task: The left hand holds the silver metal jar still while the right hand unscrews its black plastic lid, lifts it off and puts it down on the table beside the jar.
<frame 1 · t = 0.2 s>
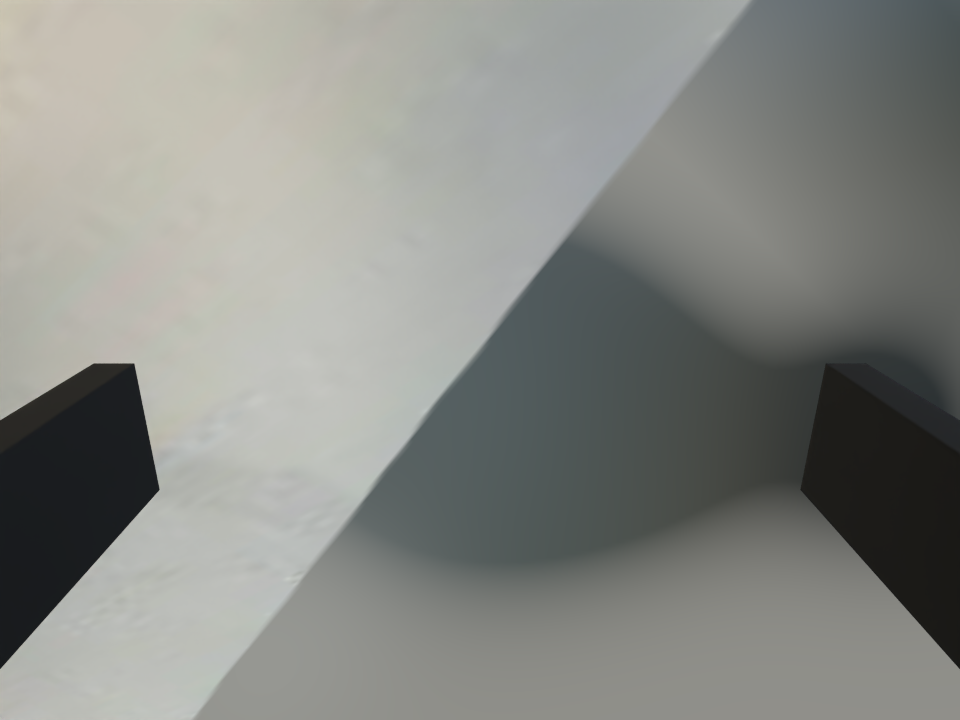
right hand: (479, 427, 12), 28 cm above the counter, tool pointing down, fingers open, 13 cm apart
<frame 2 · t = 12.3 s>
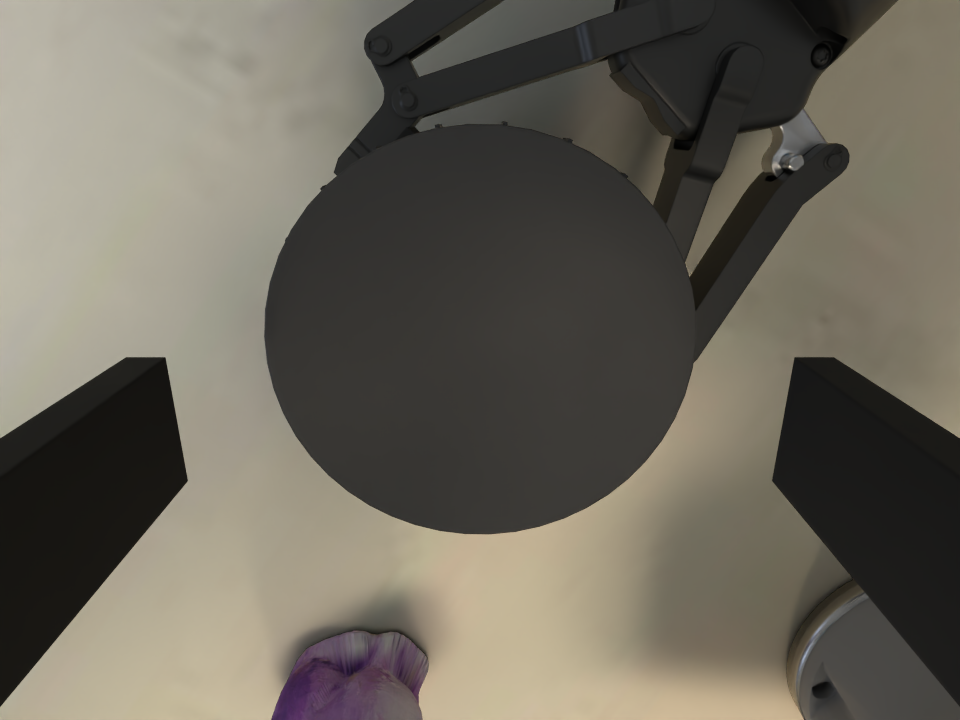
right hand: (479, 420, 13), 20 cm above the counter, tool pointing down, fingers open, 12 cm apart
left hand: (409, 345, 27), fingers closed on jar, 10 cm apart
lid: (480, 349, 17), point 16 cm above the counter, screwed on, not yet turned
figurine: (360, 669, 41), on the counter
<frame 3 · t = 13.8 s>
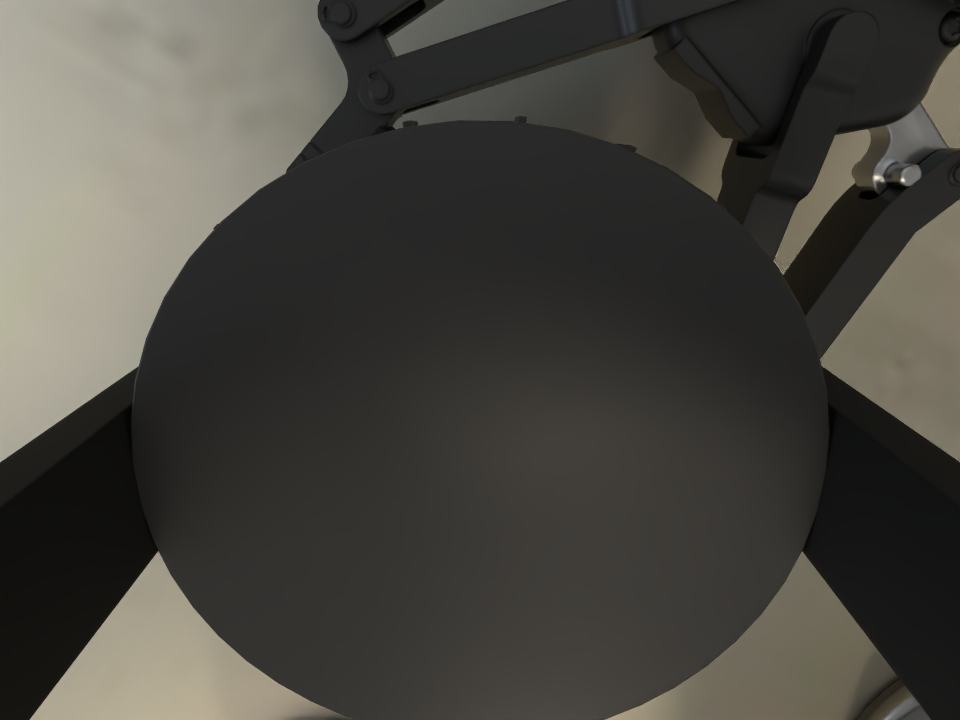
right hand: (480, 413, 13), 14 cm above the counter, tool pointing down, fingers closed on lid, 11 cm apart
lid: (480, 477, 10), point 16 cm above the counter, screwed on, not yet turned, touching right hand
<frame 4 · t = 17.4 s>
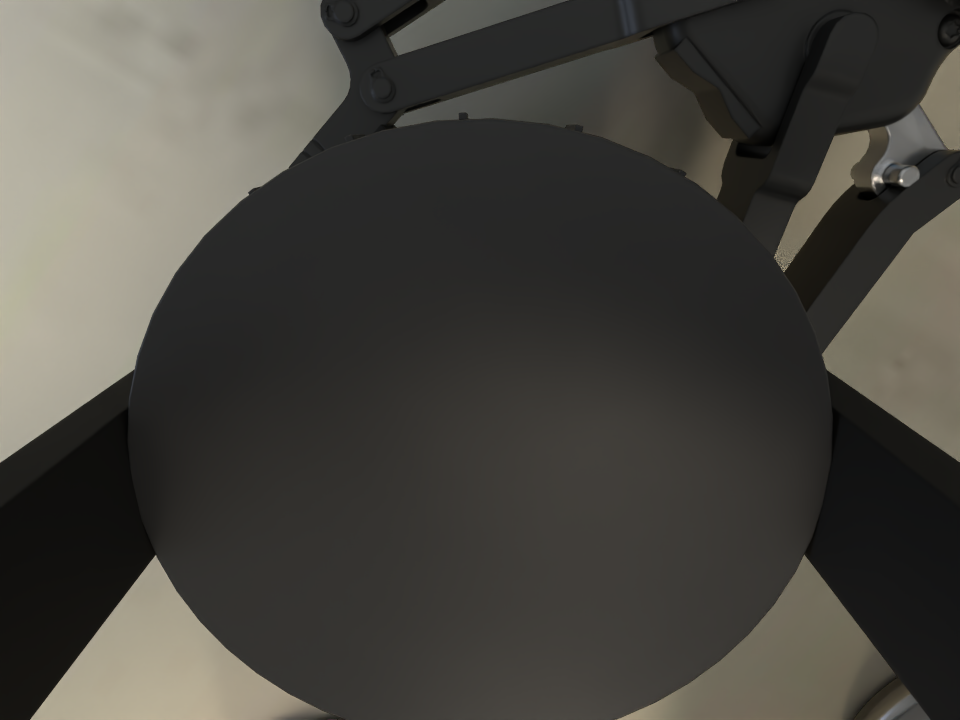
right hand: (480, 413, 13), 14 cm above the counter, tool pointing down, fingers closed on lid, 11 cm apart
lid: (480, 479, 10), point 16 cm above the counter, turned 123° so far, risen 0.2 cm, still on its thread, touching right hand
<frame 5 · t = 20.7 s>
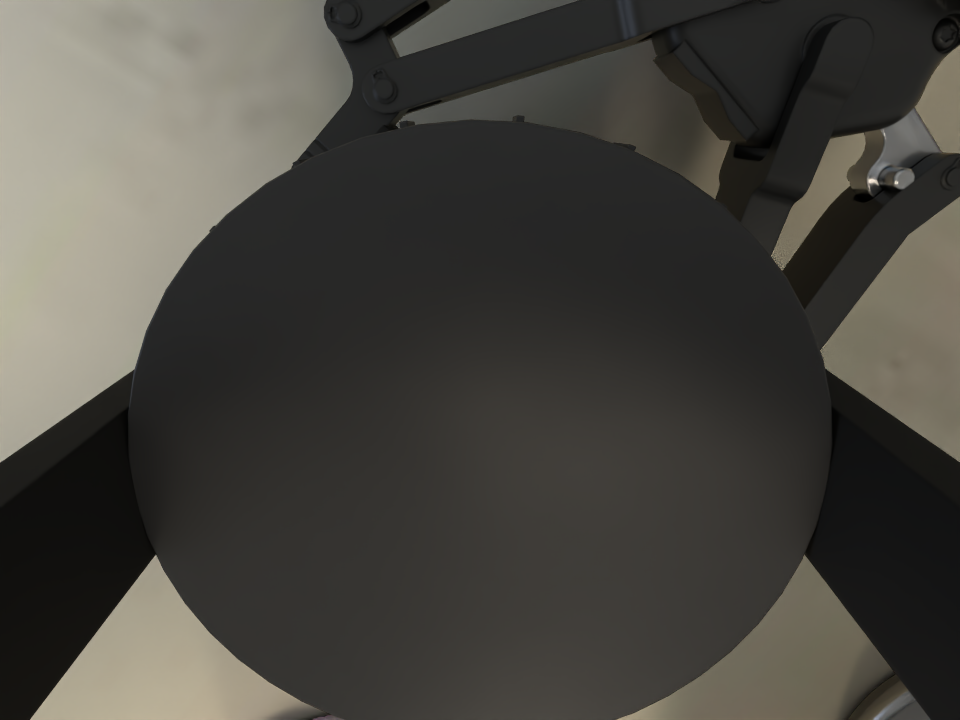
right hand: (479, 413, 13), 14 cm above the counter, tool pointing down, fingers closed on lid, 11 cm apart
lid: (480, 480, 10), point 16 cm above the counter, turned 246° so far, risen 0.4 cm, still on its thread, touching right hand
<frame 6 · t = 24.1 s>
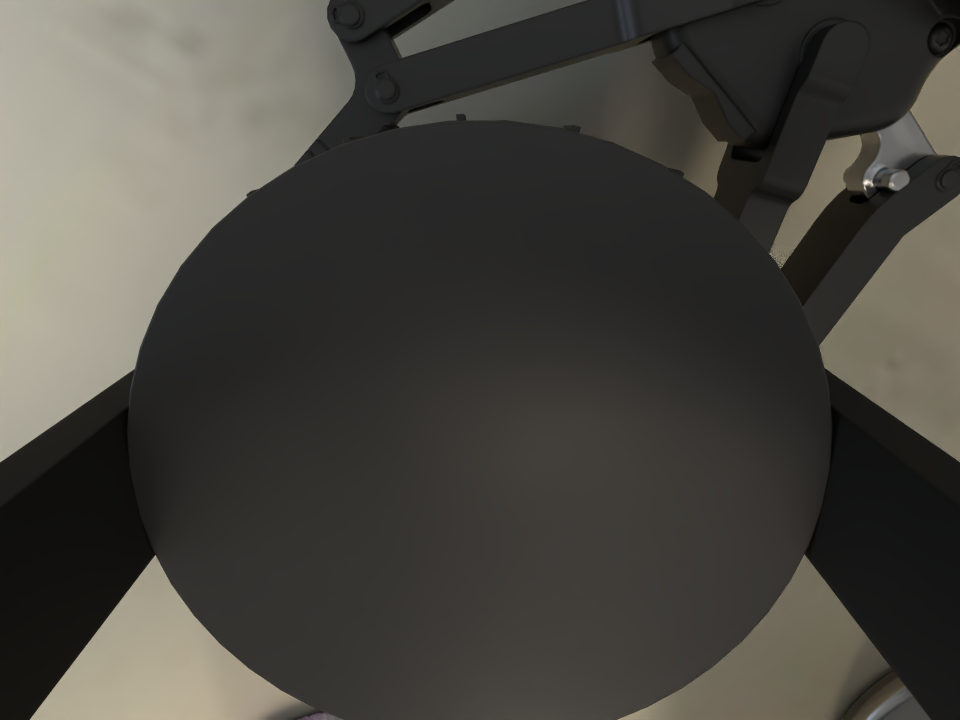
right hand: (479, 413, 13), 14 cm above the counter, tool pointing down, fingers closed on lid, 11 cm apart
lid: (479, 480, 10), point 17 cm above the counter, turned 369° so far, risen 0.6 cm, still on its thread, touching right hand
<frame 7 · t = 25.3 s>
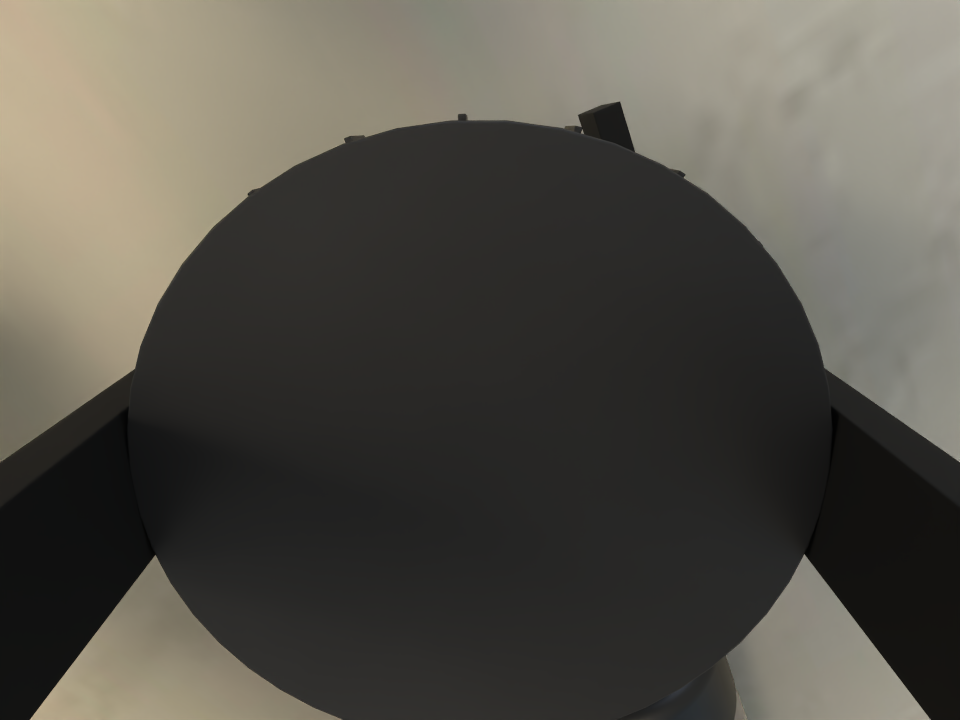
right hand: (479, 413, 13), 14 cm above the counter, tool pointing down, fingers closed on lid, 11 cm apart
lid: (479, 480, 10), point 17 cm above the counter, off its thread, touching right hand
when the right hand's fingers open (0 cm above the counter, at t = 31.6 s): lid drops 2 cm, point 1 cm above the counter.
when the left hand's fingers open (7 cm above the counter, at t = 32.6 s): jar stays where it is, on the counter.
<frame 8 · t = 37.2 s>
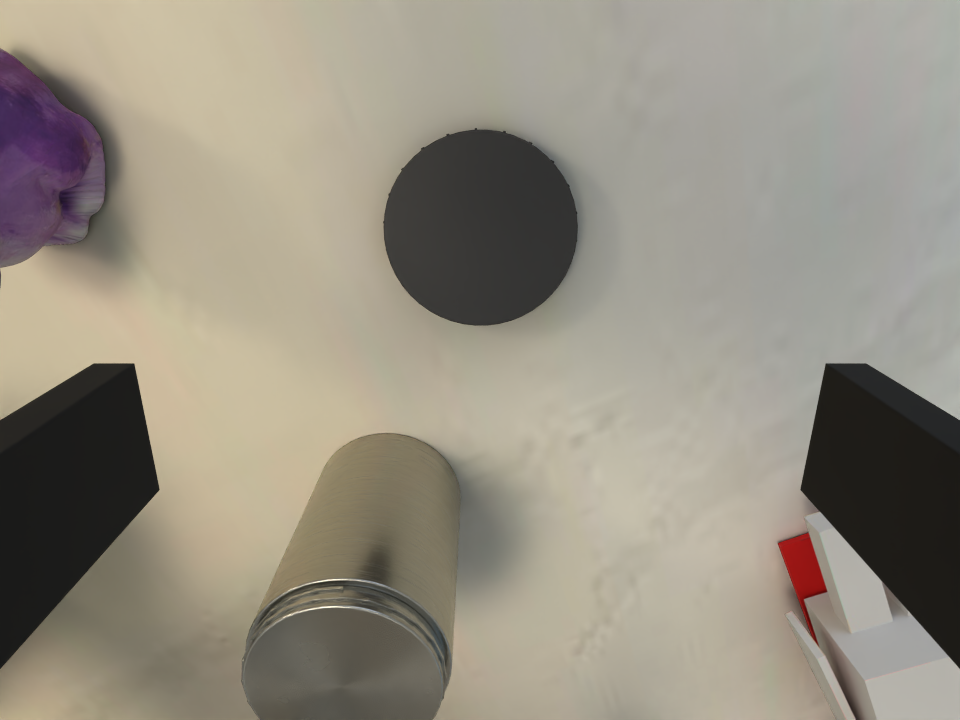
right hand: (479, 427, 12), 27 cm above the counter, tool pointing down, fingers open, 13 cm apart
lid: (480, 232, 36), point 1 cm above the counter, off its thread
jar: (389, 496, 44), on the counter
figurine: (49, 168, 36), on the counter
toy: (864, 635, 48), on the counter
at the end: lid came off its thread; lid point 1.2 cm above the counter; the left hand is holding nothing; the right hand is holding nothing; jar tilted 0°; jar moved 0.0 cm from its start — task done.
